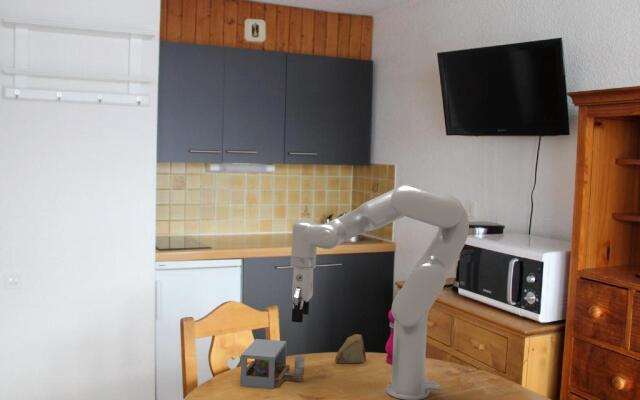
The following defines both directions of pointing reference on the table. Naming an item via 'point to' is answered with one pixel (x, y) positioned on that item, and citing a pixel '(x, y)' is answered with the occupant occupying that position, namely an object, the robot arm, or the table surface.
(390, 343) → the pepper mill
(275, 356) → the open box
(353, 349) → the rock
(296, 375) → the brown open frame
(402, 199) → the robot arm
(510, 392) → the table surface
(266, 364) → the geometric puzzle
